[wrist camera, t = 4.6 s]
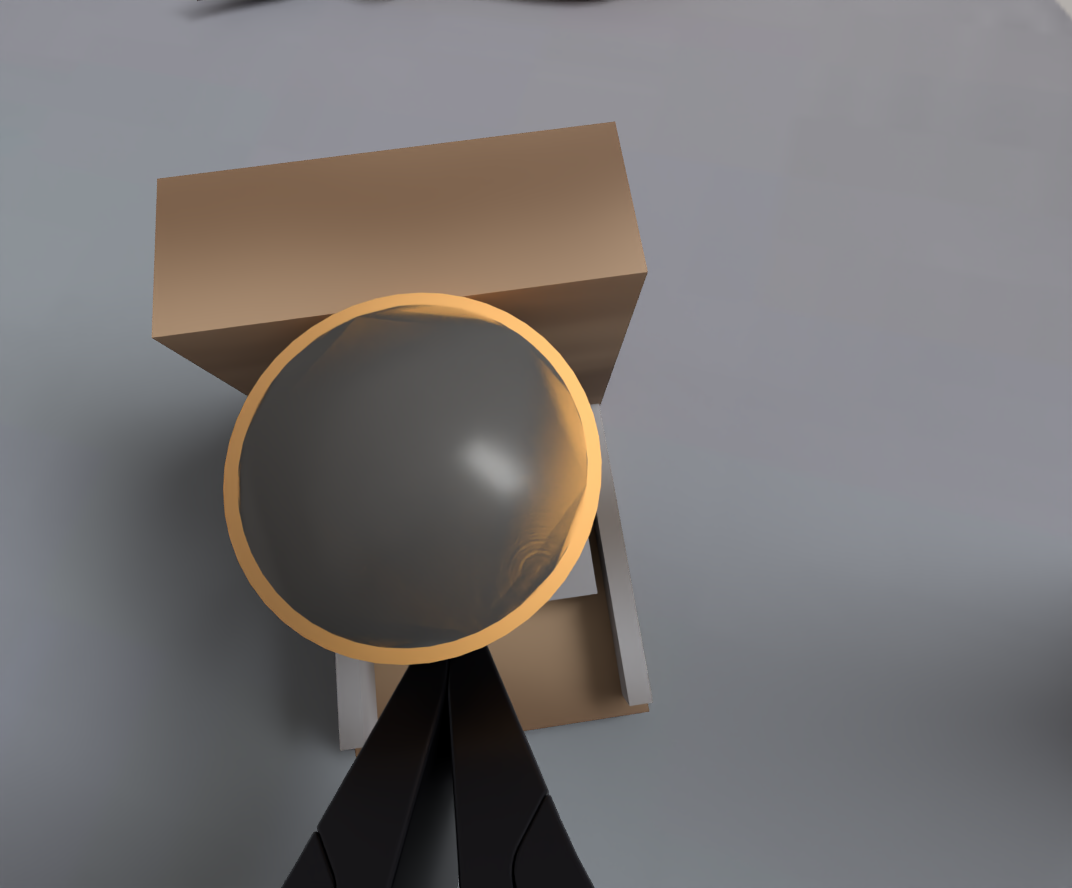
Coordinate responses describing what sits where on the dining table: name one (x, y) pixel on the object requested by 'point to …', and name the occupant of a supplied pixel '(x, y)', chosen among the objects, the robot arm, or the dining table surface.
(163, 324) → the mount
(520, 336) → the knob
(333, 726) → the dining table surface
